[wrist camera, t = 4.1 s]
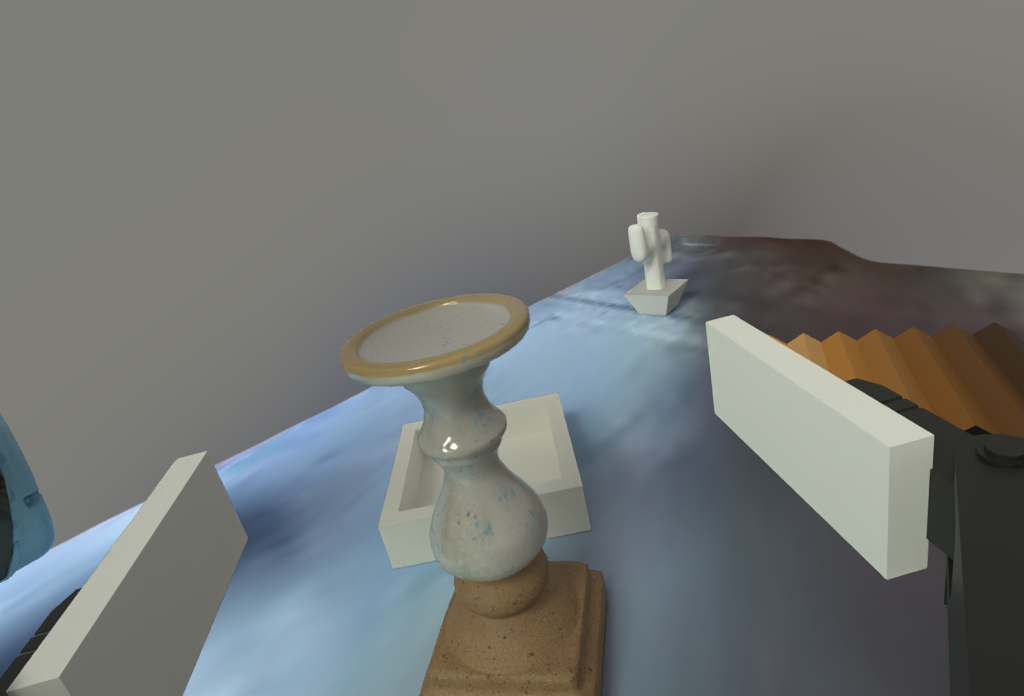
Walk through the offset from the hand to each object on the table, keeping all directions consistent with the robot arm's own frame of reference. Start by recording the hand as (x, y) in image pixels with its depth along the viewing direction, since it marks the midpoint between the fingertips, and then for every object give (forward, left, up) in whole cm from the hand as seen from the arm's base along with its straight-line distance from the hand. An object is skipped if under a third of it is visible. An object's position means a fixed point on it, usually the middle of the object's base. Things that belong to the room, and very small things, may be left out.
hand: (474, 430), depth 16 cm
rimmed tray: (-5, +35, -26) cm, 44 cm away
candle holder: (-3, +16, -26) cm, 31 cm away
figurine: (+22, +73, -26) cm, 81 cm away
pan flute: (+35, +35, -27) cm, 56 cm away
